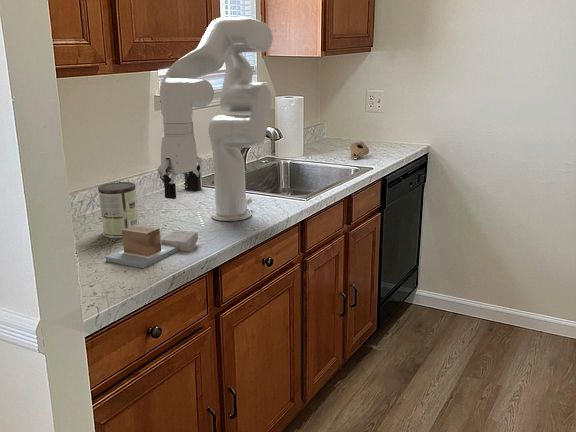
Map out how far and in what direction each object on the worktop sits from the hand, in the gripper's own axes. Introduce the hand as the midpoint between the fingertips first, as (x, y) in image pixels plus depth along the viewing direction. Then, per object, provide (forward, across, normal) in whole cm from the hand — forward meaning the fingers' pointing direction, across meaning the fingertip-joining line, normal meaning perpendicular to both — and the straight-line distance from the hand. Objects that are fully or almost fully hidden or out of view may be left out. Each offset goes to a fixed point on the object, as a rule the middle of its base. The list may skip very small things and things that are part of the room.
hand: (182, 194), depth 158 cm
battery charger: (+13, -55, -37) cm, 68 cm away
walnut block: (+13, +11, -5) cm, 18 cm away
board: (+14, +11, -5) cm, 19 cm away
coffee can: (+14, -2, -24) cm, 28 cm away
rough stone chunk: (+15, +1, -1) cm, 15 cm away
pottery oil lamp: (+11, -138, -3) cm, 138 cm away
